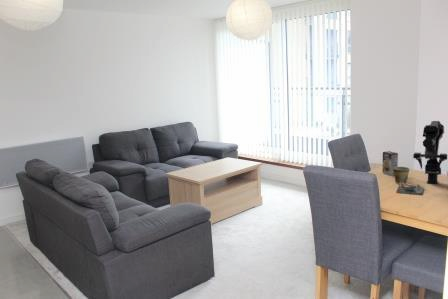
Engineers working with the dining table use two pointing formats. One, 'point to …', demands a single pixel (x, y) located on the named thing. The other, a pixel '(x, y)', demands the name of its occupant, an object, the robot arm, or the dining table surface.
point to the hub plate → (417, 190)
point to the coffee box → (389, 162)
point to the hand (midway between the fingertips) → (429, 169)
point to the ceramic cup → (400, 174)
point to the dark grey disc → (408, 185)
